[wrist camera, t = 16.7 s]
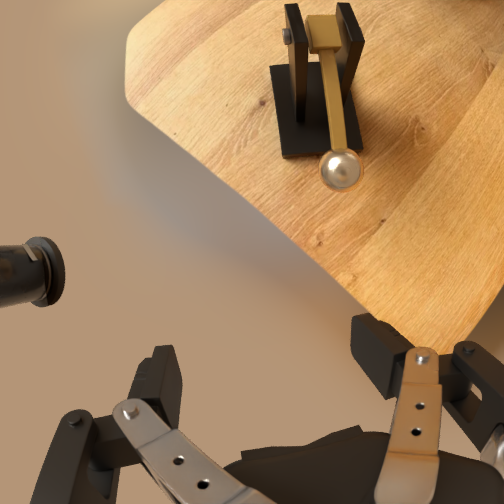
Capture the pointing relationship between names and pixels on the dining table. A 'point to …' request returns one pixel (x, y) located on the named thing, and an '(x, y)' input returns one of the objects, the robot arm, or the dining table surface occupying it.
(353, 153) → the lamp switch
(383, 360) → the robot arm
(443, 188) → the dining table surface
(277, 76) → the switch bracket
